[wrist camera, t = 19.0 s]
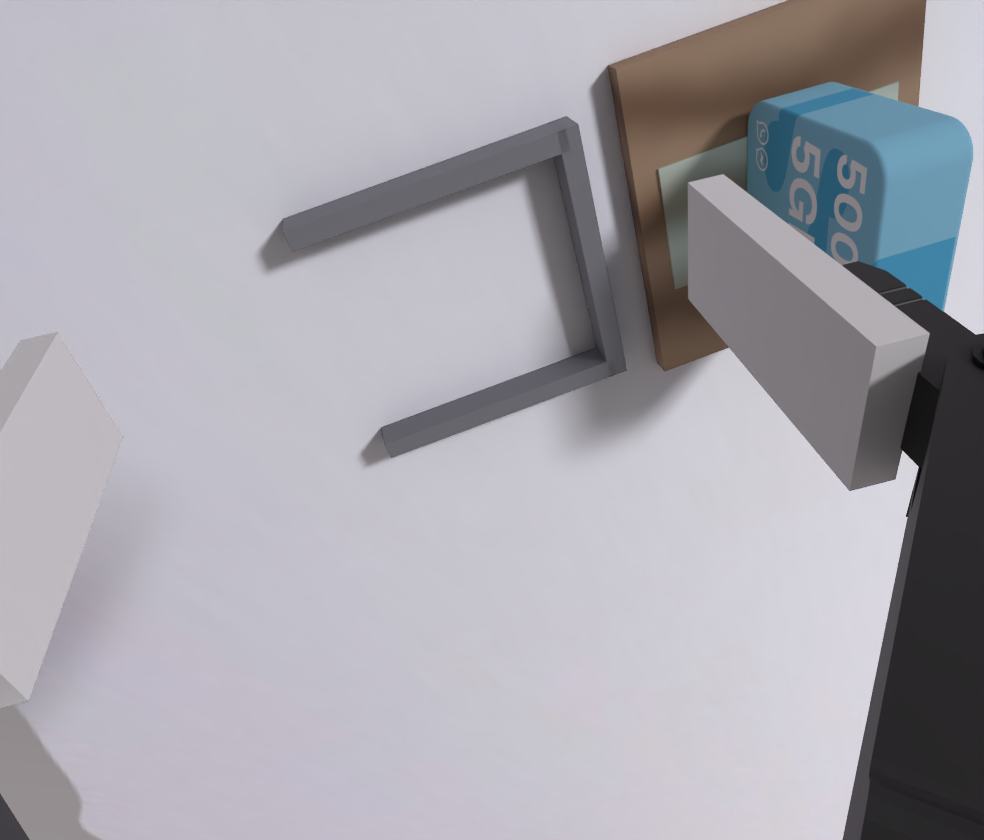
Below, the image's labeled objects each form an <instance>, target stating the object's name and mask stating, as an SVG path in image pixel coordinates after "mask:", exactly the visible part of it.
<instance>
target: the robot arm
mask: <svg viewBox="0 0 984 840" xmlns="http://www.w3.org/2000/svg"><path fill="white" fill-rule="evenodd" d="M688 299H689V300H690V302H691V303H692V304H693V305H694V306H695V308H696V309H697V310H698V311H699V312H700V313H701V315H702V316H703V317H704V318H705V319H706V321H707V322H708V323H709V324H710V325H711V327H712V328H713V329H714V330H715V331H716V333H717V334H718V335H719V336H720V337H721V338H722V340H723V341H724V342H725V343H726V344H727V346H728V347H729V348H730V349H731V350H732V352H733V353H734V354H735V355H736V356H737V358H738V359H739V360H740V361H741V362H742V363H743V365H744V366H745V367H746V368H747V369H748V371H749V372H750V373H751V374H752V375H753V377H754V378H755V379H756V380H757V381H758V383H759V384H760V385H761V386H762V387H763V388H764V390H765V391H766V392H767V393H768V394H769V396H770V397H771V398H772V399H773V400H774V402H775V403H776V404H777V405H778V406H779V408H780V409H781V410H782V411H783V412H784V414H785V415H786V416H787V417H788V418H789V419H790V421H791V422H792V423H793V424H794V425H795V427H796V428H797V429H798V430H799V431H800V433H801V434H802V435H803V436H804V437H805V439H806V440H807V441H808V442H809V443H810V444H811V446H812V447H813V448H814V449H815V450H816V452H817V453H818V454H819V455H820V456H821V458H822V459H823V460H824V461H825V462H826V464H827V465H828V466H829V467H830V468H831V469H832V471H833V472H834V473H835V474H836V475H837V477H838V478H839V479H840V480H841V481H842V483H843V484H844V485H845V486H846V487H847V489H848V490H849V491H852V490H855V489H859V488H863V487H867V486H871V485H875V484H879V483H883V482H887V481H891V480H895V479H896V474H897V470H898V466H899V462H900V457H901V453H902V450H903V451H904V452H905V453H906V454H907V455H908V456H909V457H910V458H911V459H912V460H913V461H914V462H915V463H916V464H917V465H918V466H919V468H918V472H917V476H916V480H915V484H914V488H913V491H912V495H911V499H910V503H909V507H908V511H907V514H906V517H908V519H907V524H906V529H905V533H904V538H903V543H902V548H901V553H900V558H899V563H898V568H897V573H896V578H895V583H894V588H893V593H892V598H891V603H890V608H889V613H888V618H887V623H886V628H885V633H884V637H883V642H882V647H881V652H880V657H879V662H878V667H877V672H876V677H875V682H874V687H873V692H872V697H871V702H870V707H869V712H868V717H867V722H866V727H865V732H864V737H863V742H862V746H861V751H860V756H859V761H858V766H857V771H856V776H855V781H854V786H853V791H852V796H851V801H850V806H849V811H848V816H847V821H846V826H845V831H844V836H843V840H984V334H978V335H975V334H974V333H972V332H971V331H970V330H968V329H967V328H965V327H964V326H963V325H961V324H960V323H959V322H957V321H956V320H954V319H953V318H952V317H950V316H949V315H947V314H946V313H945V312H943V311H942V310H940V309H939V308H938V307H936V306H935V305H933V304H932V303H931V302H929V301H928V300H927V299H926V300H923V299H922V296H921V295H920V294H918V293H917V292H915V291H914V290H913V289H911V288H907V287H906V284H904V283H903V282H901V281H900V280H899V279H897V278H896V277H895V276H893V275H892V274H890V273H889V272H888V271H886V270H883V269H880V268H877V267H874V266H871V265H868V264H865V263H863V262H860V261H856V262H852V263H848V264H844V265H840V264H839V263H838V262H837V261H835V260H834V259H833V258H831V257H830V256H829V255H828V254H826V253H825V252H824V251H822V250H821V249H820V248H818V247H817V246H816V245H815V244H813V243H812V242H811V241H809V240H808V239H807V238H805V237H804V236H803V235H802V234H800V233H799V232H798V231H796V230H795V229H794V228H792V227H791V226H790V225H789V224H787V223H786V222H785V221H783V220H782V219H781V218H780V217H778V216H777V215H776V214H774V213H773V212H772V211H770V210H769V209H768V208H767V207H765V206H764V205H763V204H761V203H760V202H759V201H757V200H756V199H755V198H754V197H752V196H751V195H750V194H748V193H747V192H746V191H745V190H743V189H742V188H741V187H739V186H738V185H737V184H735V183H734V182H733V181H732V180H730V179H729V178H728V177H726V176H725V175H724V174H722V175H717V176H713V177H709V178H705V179H700V180H696V181H692V182H688ZM122 439H123V434H122V433H121V431H120V430H119V428H118V426H117V425H116V423H115V422H114V420H113V418H112V417H111V415H110V414H109V412H108V410H107V409H106V407H105V406H104V404H103V402H102V401H101V399H100V398H99V396H98V394H97V393H96V391H95V390H94V388H93V386H92V385H91V383H90V382H89V380H88V378H87V377H86V375H85V374H84V372H83V370H82V369H81V367H80V366H79V364H78V362H77V361H76V359H75V358H74V356H73V354H72V353H71V351H70V350H69V348H68V346H67V345H66V343H65V342H64V340H63V338H62V337H61V335H60V334H59V332H55V333H51V334H47V335H42V336H38V337H34V338H30V339H25V340H21V341H20V342H19V343H18V345H17V346H16V348H15V350H14V351H13V353H12V354H11V356H10V357H9V359H8V360H7V362H6V363H5V365H4V366H3V368H2V370H1V371H0V708H3V707H7V706H11V705H15V704H19V703H23V702H27V701H29V699H30V696H31V693H32V690H33V687H34V685H35V682H36V679H37V676H38V673H39V671H40V668H41V665H42V662H43V659H44V657H45V654H46V651H47V648H48V646H49V643H50V640H51V637H52V634H53V632H54V629H55V626H56V623H57V620H58V618H59V615H60V612H61V609H62V606H63V604H64V601H65V598H66V595H67V593H68V590H69V587H70V584H71V581H72V579H73V576H74V573H75V570H76V567H77V565H78V562H79V559H80V556H81V553H82V551H83V548H84V545H85V542H86V540H87V537H88V534H89V531H90V528H91V526H92V523H93V520H94V517H95V514H96V512H97V509H98V506H99V503H100V500H101V498H102V495H103V492H104V489H105V487H106V484H107V481H108V478H109V475H110V473H111V470H112V467H113V464H114V461H115V459H116V456H117V453H118V450H119V447H120V445H121V442H122ZM0 840H29V838H28V837H27V835H26V833H25V832H24V830H23V829H22V827H21V826H20V824H19V822H18V821H17V819H16V818H15V816H14V815H13V813H12V812H11V810H10V808H9V807H8V805H7V804H6V802H5V801H4V799H3V797H2V796H1V794H0Z"/></svg>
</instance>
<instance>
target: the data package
mask: <svg viewBox="0 0 984 840" xmlns="http://www.w3.org/2000/svg"><path fill="white" fill-rule="evenodd" d="M972 160H973V145H972V140H971V137H970V135H969V132H968V130H967V129H966V127H965V126H964V125H963V124H962V123H961V122H960V121H959V120H958V119H956V118H954V117H951V116H948V115H945V114H941V113H938V112H935V111H931V110H928V109H924V108H921V107H918V106H914V105H911V104H908V103H904V102H901V101H897V100H894V99H891V98H887V97H884V96H880V95H877V94H874V93H870V92H867V91H864V90H860V89H857V88H853V87H850V86H847V85H843V84H840V83H836V82H827V83H824V84H820V85H817V86H813V87H810V88H806V89H802V90H799V91H795V92H792V93H788V94H784V95H781V96H777V97H774V98H770V99H767V100H763V101H760V102H758V103H757V104H756V105H755V106H754V107H753V108H752V110H751V112H750V115H749V120H748V153H747V193H748V194H750V195H751V196H752V197H754V198H755V199H756V200H757V201H759V202H760V203H761V204H763V205H764V206H765V207H767V208H768V209H769V210H770V211H772V212H773V213H774V214H776V215H777V216H778V217H780V218H781V219H782V220H783V221H785V222H786V223H787V224H789V225H790V226H791V227H792V228H794V229H795V230H796V231H798V232H799V233H800V234H802V235H803V236H804V237H805V238H807V239H808V240H809V241H811V242H812V243H813V244H815V245H816V246H817V247H818V248H820V249H821V250H822V251H824V252H825V253H826V254H828V255H829V256H830V257H831V258H833V259H834V260H835V261H837V262H838V263H839V264H840V265H844V264H848V263H852V262H856V261H860V262H863V263H865V264H868V265H871V266H874V267H877V268H880V269H883V270H886V271H888V272H889V273H890V274H892V275H893V276H895V277H896V278H897V279H899V280H900V281H901V282H903V283H904V284H906V287H907V288H911V289H913V290H914V291H915V292H917V293H918V294H920V295H921V296H922V299H923V300H926V299H927V300H928V301H929V302H931V303H932V304H933V305H935V306H936V307H938V308H939V309H940V310H942V311H943V312H944V307H945V302H946V297H947V292H948V286H949V281H950V276H951V271H952V266H953V260H954V255H955V250H956V245H957V239H958V234H959V229H960V224H961V218H962V213H963V208H964V203H965V198H966V192H967V187H968V182H969V177H970V171H971V166H972Z"/></svg>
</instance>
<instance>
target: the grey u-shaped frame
mask: <svg viewBox="0 0 984 840" xmlns="http://www.w3.org/2000/svg"><path fill="white" fill-rule="evenodd" d="M552 157H554V160H555V164H556V169H557V173H558V178H559V182H560V187H561V191H562V195H563V200H564V204H565V209H566V213H567V218H568V222H569V227H570V231H571V236H572V240H573V245H574V249H575V254H576V258H577V263H578V267H579V272H580V276H581V281H582V285H583V289H584V294H585V298H586V303H587V307H588V312H589V316H590V321H591V325H592V330H593V334H594V339H595V343H596V348H594V349H592V350H589V351H586V352H584V353H581V354H578V355H575V356H573V357H570V358H567V359H565V360H562V361H559V362H557V363H554V364H551V365H548V366H546V367H543V368H540V369H538V370H535V371H532V372H530V373H527V374H524V375H522V376H519V377H516V378H513V379H511V380H508V381H505V382H503V383H500V384H497V385H495V386H492V387H489V388H486V389H484V390H481V391H478V392H476V393H473V394H470V395H468V396H465V397H462V398H460V399H457V400H454V401H451V402H449V403H446V404H443V405H441V406H438V407H435V408H433V409H430V410H427V411H424V412H422V413H419V414H416V415H414V416H411V417H408V418H406V419H403V420H400V421H398V422H395V423H392V424H389V425H387V426H384V427H381V428H382V434H383V439H384V444H385V447H386V449H387V451H388V453H389V455H390V457H391V458H393V457H395V456H398V455H401V454H403V453H406V452H409V451H411V450H414V449H417V448H419V447H422V446H425V445H427V444H430V443H433V442H436V441H438V440H441V439H444V438H446V437H449V436H452V435H454V434H457V433H460V432H462V431H465V430H468V429H470V428H473V427H476V426H478V425H481V424H484V423H487V422H489V421H492V420H495V419H497V418H500V417H503V416H505V415H508V414H511V413H513V412H516V411H519V410H521V409H524V408H527V407H530V406H532V405H535V404H538V403H540V402H543V401H546V400H548V399H551V398H554V397H556V396H559V395H562V394H564V393H567V392H570V391H572V390H575V389H578V388H581V387H583V386H586V385H589V384H591V383H594V382H597V381H599V380H602V379H605V378H607V377H610V376H613V375H615V374H618V373H621V372H624V371H626V370H627V369H626V363H625V358H624V353H623V348H622V343H621V338H620V333H619V328H618V323H617V318H616V313H615V308H614V303H613V298H612V293H611V288H610V283H609V278H608V273H607V268H606V262H605V257H604V252H603V247H602V242H601V237H600V232H599V227H598V222H597V217H596V212H595V207H594V202H593V197H592V192H591V187H590V182H589V177H588V172H587V167H586V161H585V156H584V151H583V146H582V141H581V136H580V131H579V126H578V124H577V123H576V122H574V121H573V120H571V119H570V118H568V117H567V116H566V117H563V118H561V119H558V120H555V121H552V122H549V123H547V124H544V125H541V126H538V127H536V128H533V129H530V130H527V131H525V132H522V133H519V134H516V135H514V136H511V137H508V138H505V139H503V140H500V141H497V142H494V143H491V144H489V145H486V146H483V147H480V148H478V149H475V150H472V151H469V152H467V153H464V154H461V155H458V156H456V157H453V158H450V159H447V160H445V161H442V162H439V163H436V164H433V165H431V166H428V167H425V168H422V169H420V170H417V171H414V172H411V173H409V174H406V175H403V176H400V177H398V178H395V179H392V180H389V181H387V182H384V183H381V184H378V185H375V186H373V187H370V188H367V189H364V190H362V191H359V192H356V193H353V194H351V195H348V196H345V197H342V198H340V199H337V200H334V201H331V202H328V203H326V204H323V205H320V206H317V207H315V208H312V209H309V210H306V211H304V212H301V213H298V214H295V215H293V216H290V217H287V218H284V219H283V233H284V235H285V237H286V239H287V241H288V243H289V245H290V248H291V250H292V252H293V251H296V250H299V249H302V248H304V247H307V246H310V245H313V244H315V243H318V242H321V241H324V240H326V239H329V238H332V237H335V236H337V235H340V234H343V233H346V232H348V231H351V230H354V229H357V228H359V227H362V226H365V225H368V224H370V223H373V222H376V221H379V220H381V219H384V218H387V217H390V216H392V215H395V214H398V213H401V212H403V211H406V210H409V209H412V208H414V207H417V206H420V205H423V204H425V203H428V202H431V201H434V200H436V199H439V198H442V197H445V196H447V195H450V194H453V193H456V192H458V191H461V190H464V189H467V188H469V187H472V186H475V185H478V184H480V183H483V182H486V181H489V180H491V179H494V178H497V177H500V176H502V175H505V174H508V173H511V172H513V171H516V170H519V169H522V168H524V167H527V166H530V165H533V164H535V163H538V162H541V161H544V160H546V159H549V158H552Z"/></svg>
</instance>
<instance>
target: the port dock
mask: <svg viewBox="0 0 984 840" xmlns="http://www.w3.org/2000/svg"><path fill="white" fill-rule="evenodd" d="M925 10H926V0H788V1H785V2H783V3H780V4H777V5H774V6H772V7H769V8H766V9H763V10H760V11H758V12H755V13H752V14H749V15H747V16H744V17H741V18H738V19H735V20H733V21H730V22H727V23H724V24H722V25H719V26H716V27H713V28H711V29H708V30H705V31H702V32H699V33H697V34H694V35H691V36H688V37H686V38H683V39H680V40H677V41H674V42H672V43H669V44H666V45H663V46H661V47H658V48H655V49H652V50H650V51H647V52H644V53H641V54H638V55H636V56H633V57H630V58H627V59H625V60H622V61H619V62H616V63H613V64H611V65H608V68H609V74H610V80H611V87H612V93H613V99H614V105H615V111H616V117H617V123H618V129H619V135H620V141H621V147H622V153H623V159H624V165H625V171H626V177H627V183H628V189H629V195H630V201H631V207H632V213H633V219H634V225H635V231H636V237H637V243H638V249H639V255H640V261H641V267H642V273H643V279H644V285H645V291H646V297H647V303H648V309H649V315H650V321H651V327H652V333H653V339H654V345H655V351H656V357H657V363H658V364H659V365H660V367H661V368H662V369H663V370H664V371H667V370H669V369H672V368H675V367H677V366H680V365H683V364H686V363H688V362H691V361H694V360H696V359H699V358H702V357H704V356H707V355H710V354H712V353H715V352H718V351H720V350H723V349H726V348H728V346H727V344H726V343H725V342H724V341H723V340H722V338H721V337H720V336H719V335H718V334H717V333H716V331H715V330H714V329H713V328H712V327H711V325H710V324H709V323H708V322H707V321H706V319H705V318H704V317H703V316H702V315H701V313H700V312H699V311H698V310H697V309H696V308H695V306H694V305H693V304H692V303H691V302H690V300H689V299H688V182H692V181H696V180H700V179H705V178H709V177H713V176H717V175H722V174H724V175H725V176H726V177H728V178H729V179H730V180H732V181H733V182H734V183H735V184H737V185H738V186H739V187H741V188H742V189H743V190H745V191H746V192H747V153H748V120H749V115H750V112H751V110H752V108H753V107H754V106H755V105H756V104H757V103H758V102H760V101H763V100H767V99H770V98H774V97H777V96H781V95H784V94H788V93H792V92H795V91H799V90H802V89H806V88H810V87H813V86H817V85H820V84H824V83H827V82H836V83H840V84H843V85H847V86H850V87H853V88H857V89H860V90H864V91H867V92H870V93H874V94H877V95H880V96H884V97H887V98H891V99H894V100H897V101H901V102H904V103H908V104H911V105H914V106H918V103H919V90H920V77H921V63H922V50H923V37H924V23H925Z"/></svg>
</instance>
